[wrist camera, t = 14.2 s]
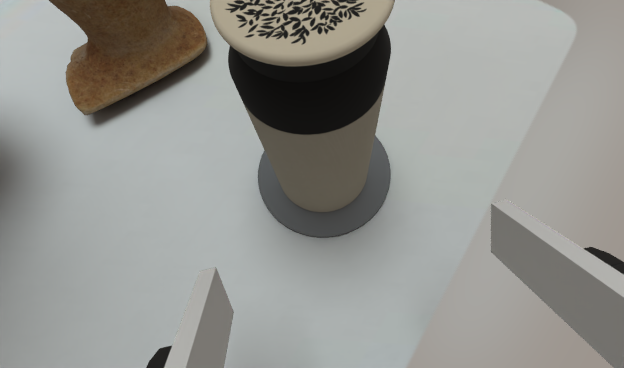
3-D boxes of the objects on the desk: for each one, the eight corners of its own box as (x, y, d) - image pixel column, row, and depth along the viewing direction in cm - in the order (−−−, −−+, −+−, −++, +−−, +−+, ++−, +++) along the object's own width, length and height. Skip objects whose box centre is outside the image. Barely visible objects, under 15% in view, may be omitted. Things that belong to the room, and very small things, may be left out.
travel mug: (382, 191, 28) (443, 15, 12) (298, 227, 28) (235, 96, 11) (344, 121, 31) (349, -99, 15) (267, 152, 31) (181, -41, 14)
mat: (269, 250, 28) (268, 249, 27) (251, 132, 32) (250, 129, 32) (407, 220, 28) (408, 218, 27) (369, 106, 32) (369, 103, 32)
